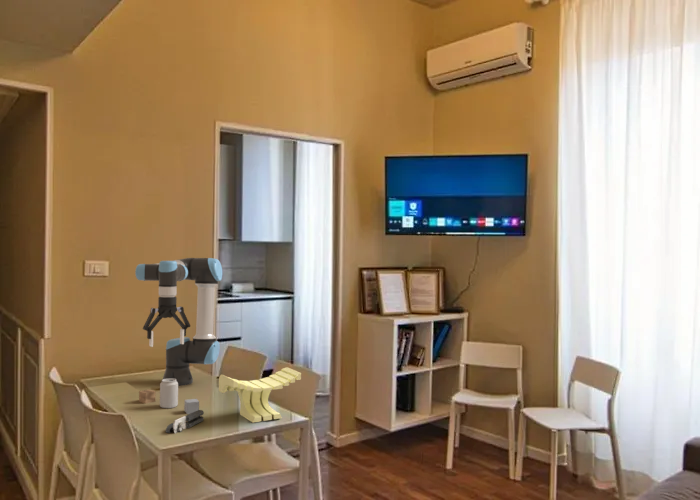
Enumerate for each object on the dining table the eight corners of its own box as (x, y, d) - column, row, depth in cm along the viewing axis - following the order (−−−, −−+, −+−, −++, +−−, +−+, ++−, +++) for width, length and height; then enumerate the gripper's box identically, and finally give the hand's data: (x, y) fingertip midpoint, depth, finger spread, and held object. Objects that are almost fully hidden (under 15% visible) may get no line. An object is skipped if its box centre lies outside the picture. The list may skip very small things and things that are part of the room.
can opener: (176, 435, 224) (177, 421, 224) (162, 433, 226) (163, 419, 226) (207, 421, 242) (207, 409, 242) (194, 419, 244) (194, 407, 244)
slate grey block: (196, 410, 257) (196, 398, 257) (198, 413, 253) (199, 401, 253) (184, 411, 255) (184, 399, 255) (186, 414, 250) (187, 402, 250)
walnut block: (148, 400, 272) (149, 389, 272) (155, 402, 269) (155, 391, 269) (139, 402, 268) (139, 391, 268) (145, 404, 265) (145, 393, 265)
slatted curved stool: (283, 406, 266) (284, 366, 266) (300, 415, 252) (301, 372, 252) (218, 415, 250) (218, 372, 249) (232, 425, 236) (233, 380, 236)
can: (181, 405, 263) (181, 378, 263) (170, 410, 256) (171, 382, 256) (166, 404, 266) (167, 377, 266) (156, 408, 259) (156, 380, 259)
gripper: (191, 294, 271) (190, 341, 271) (135, 296, 256) (134, 346, 256) (198, 295, 265) (197, 343, 265) (141, 298, 250) (140, 348, 250)
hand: (166, 345), depth 261 cm, fingers open, 13 cm apart
